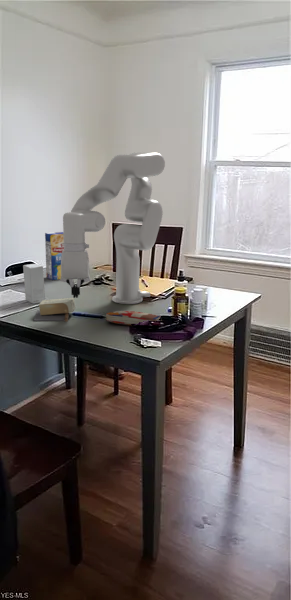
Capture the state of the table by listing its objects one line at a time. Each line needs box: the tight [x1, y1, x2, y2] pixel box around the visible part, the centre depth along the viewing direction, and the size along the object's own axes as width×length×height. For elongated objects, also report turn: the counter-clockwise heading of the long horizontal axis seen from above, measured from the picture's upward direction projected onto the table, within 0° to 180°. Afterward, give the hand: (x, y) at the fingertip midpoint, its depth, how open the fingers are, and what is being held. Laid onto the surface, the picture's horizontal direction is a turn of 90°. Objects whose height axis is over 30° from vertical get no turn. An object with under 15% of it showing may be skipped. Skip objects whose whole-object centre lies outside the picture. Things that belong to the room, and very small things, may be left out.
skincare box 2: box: [38, 297, 76, 315], centre depth 180 cm, size 6×4×12 cm
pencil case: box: [105, 310, 162, 326], centre depth 172 cm, size 11×20×5 cm, turn 65°
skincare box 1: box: [22, 263, 46, 305], centre depth 197 cm, size 8×6×15 cm
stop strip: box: [64, 313, 70, 323], centre depth 180 cm, size 1×14×2 cm, turn 6°
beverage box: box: [44, 231, 64, 281], centre depth 238 cm, size 7×11×22 cm, turn 123°
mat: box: [33, 309, 65, 322], centre depth 180 cm, size 11×12×1 cm
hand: (75, 296), depth 179 cm, fingers closed
